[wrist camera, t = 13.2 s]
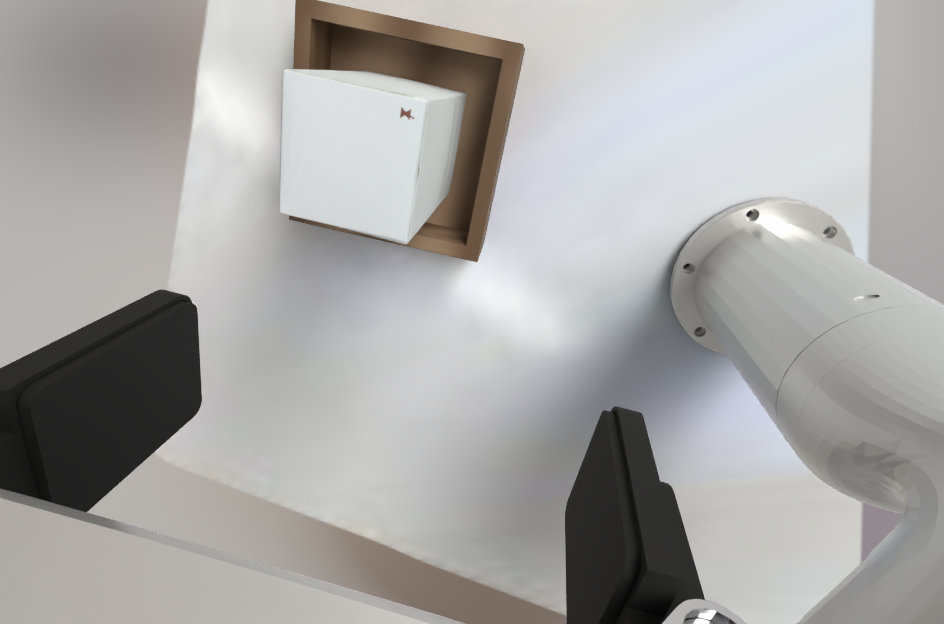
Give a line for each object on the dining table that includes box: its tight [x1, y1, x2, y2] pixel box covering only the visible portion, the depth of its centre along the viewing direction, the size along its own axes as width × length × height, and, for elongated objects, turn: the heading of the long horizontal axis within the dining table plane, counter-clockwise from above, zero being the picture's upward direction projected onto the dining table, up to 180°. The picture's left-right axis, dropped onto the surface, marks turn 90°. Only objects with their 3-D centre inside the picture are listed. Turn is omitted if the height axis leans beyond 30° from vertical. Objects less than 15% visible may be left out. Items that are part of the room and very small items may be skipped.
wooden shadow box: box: [289, 0, 525, 262], centre depth 35 cm, size 14×14×4 cm
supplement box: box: [279, 69, 467, 244], centre depth 30 cm, size 7×7×13 cm
